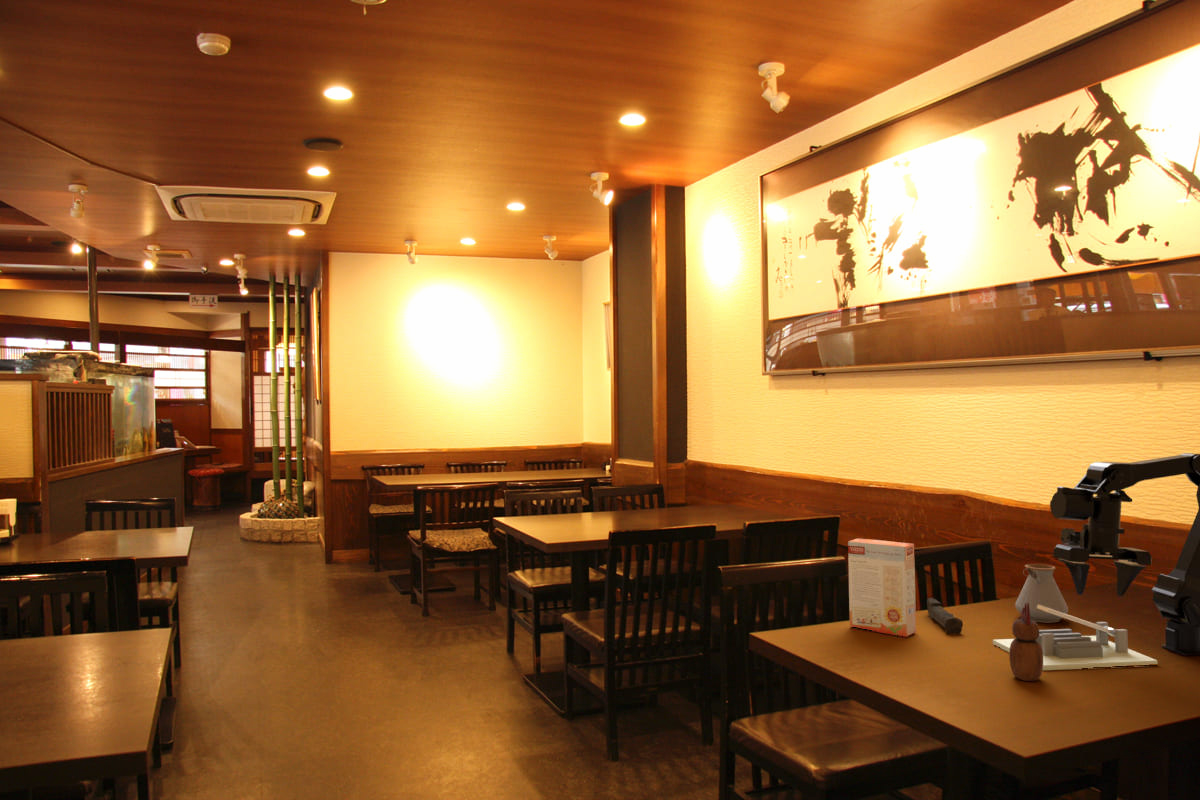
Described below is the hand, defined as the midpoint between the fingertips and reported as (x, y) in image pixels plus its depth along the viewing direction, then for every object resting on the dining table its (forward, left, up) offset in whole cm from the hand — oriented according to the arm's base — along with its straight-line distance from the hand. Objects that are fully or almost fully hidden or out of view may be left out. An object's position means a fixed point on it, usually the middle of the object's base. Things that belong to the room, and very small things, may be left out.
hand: (1099, 595), depth 172 cm
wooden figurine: (+25, +13, -12) cm, 30 cm away
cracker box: (+38, -23, -12) cm, 46 cm away
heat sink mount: (+7, 0, -12) cm, 14 cm away
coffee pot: (-1, -24, -12) cm, 27 cm away
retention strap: (+5, 0, -6) cm, 8 cm away
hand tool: (+22, -27, -13) cm, 37 cm away
